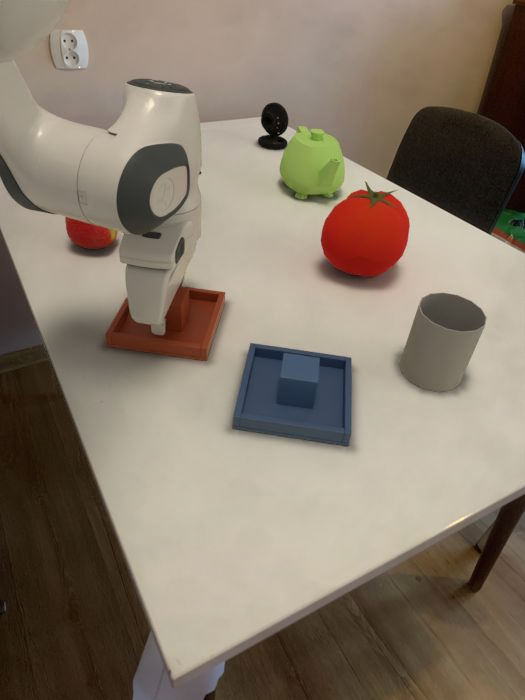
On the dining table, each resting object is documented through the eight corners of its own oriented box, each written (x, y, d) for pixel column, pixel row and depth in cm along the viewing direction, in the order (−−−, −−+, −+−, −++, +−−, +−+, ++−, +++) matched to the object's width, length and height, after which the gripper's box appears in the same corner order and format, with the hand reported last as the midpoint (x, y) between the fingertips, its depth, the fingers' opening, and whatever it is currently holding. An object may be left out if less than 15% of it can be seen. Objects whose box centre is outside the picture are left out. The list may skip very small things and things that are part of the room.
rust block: (150, 327, 75) (148, 301, 72) (159, 309, 79) (157, 283, 76) (181, 332, 75) (181, 306, 72) (189, 313, 78) (189, 287, 76)
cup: (387, 358, 75) (405, 299, 69) (432, 344, 78) (453, 287, 72) (427, 398, 69) (451, 338, 63) (473, 382, 73) (500, 323, 66)
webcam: (251, 143, 136) (254, 101, 130) (269, 137, 141) (273, 96, 134) (274, 152, 132) (279, 109, 126) (293, 145, 137) (298, 104, 131)
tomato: (374, 245, 100) (391, 173, 91) (416, 284, 91) (440, 209, 82) (298, 255, 95) (309, 180, 86) (335, 299, 85) (351, 219, 77)
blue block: (276, 403, 66) (280, 376, 63) (279, 379, 69) (283, 352, 66) (312, 409, 66) (318, 382, 63) (314, 384, 69) (319, 357, 66)
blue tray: (232, 428, 63) (233, 416, 62) (249, 354, 73) (250, 342, 72) (348, 446, 62) (351, 434, 61) (348, 369, 73) (351, 357, 71)
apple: (106, 261, 88) (101, 216, 83) (58, 253, 89) (50, 208, 84) (125, 239, 94) (121, 196, 89) (80, 231, 95) (74, 188, 90)
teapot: (356, 208, 112) (369, 147, 104) (296, 212, 108) (305, 149, 100) (320, 170, 126) (329, 114, 118) (266, 172, 122) (271, 115, 114)
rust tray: (106, 346, 72) (105, 334, 71) (137, 291, 83) (136, 279, 81) (206, 361, 72) (206, 349, 70) (224, 303, 82) (225, 292, 81)
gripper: (162, 184, 75) (166, 270, 84) (113, 258, 59) (123, 353, 68) (207, 190, 75) (206, 275, 83) (169, 265, 59) (172, 360, 68)
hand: (168, 311), depth 76 cm, fingers open, 8 cm apart
